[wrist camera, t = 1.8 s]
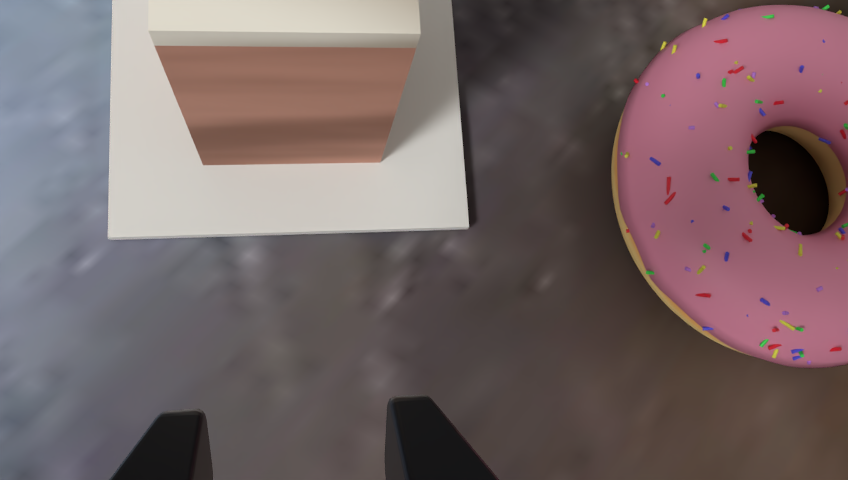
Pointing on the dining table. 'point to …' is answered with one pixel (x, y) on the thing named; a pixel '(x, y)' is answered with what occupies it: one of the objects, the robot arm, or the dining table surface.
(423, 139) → the white paper sheet
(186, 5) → the brick block
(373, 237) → the dining table surface
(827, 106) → the doughnut
